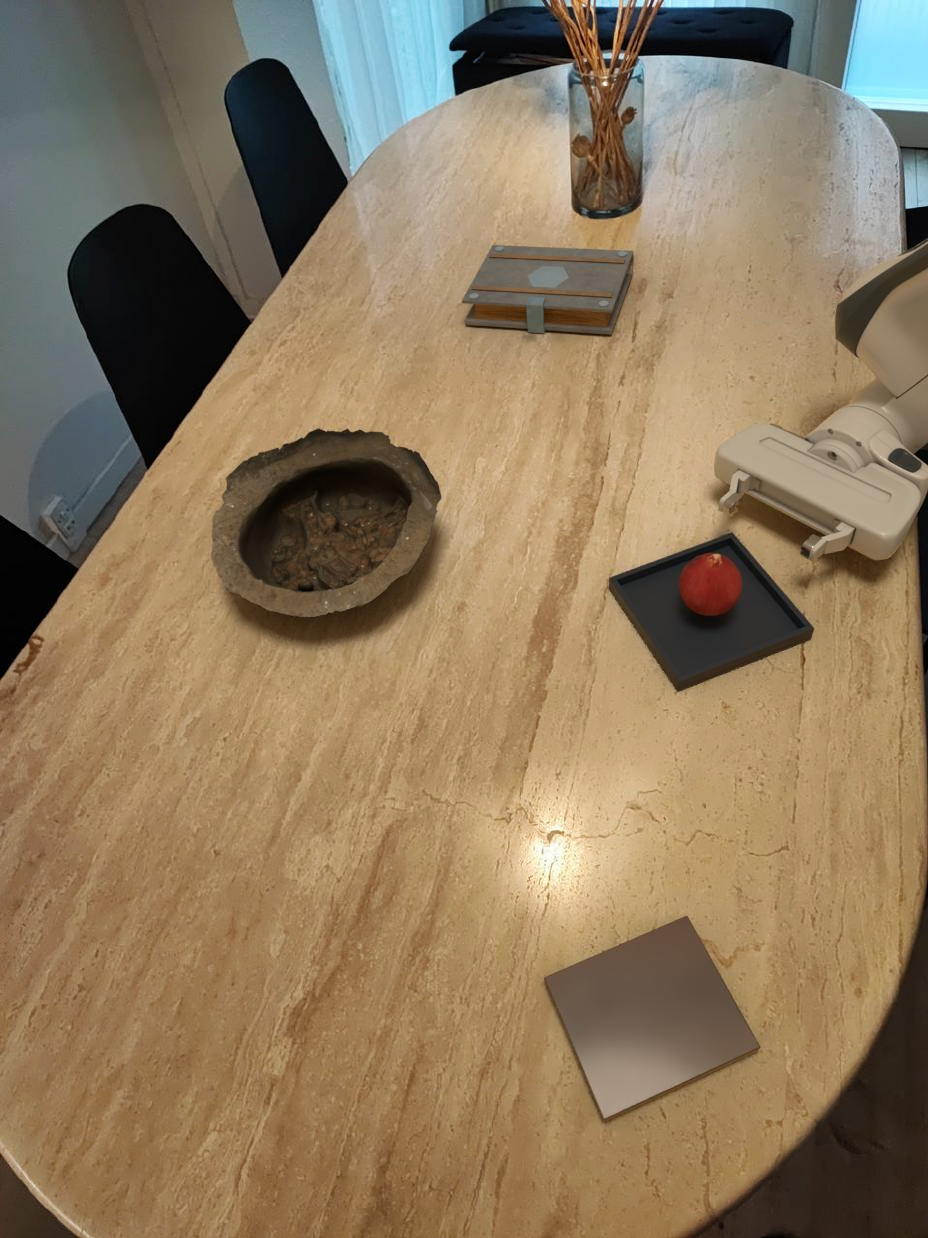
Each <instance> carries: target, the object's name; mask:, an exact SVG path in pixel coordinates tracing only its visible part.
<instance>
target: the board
mask: <svg viewBox="0 0 928 1238" xmlns="http://www.w3.org/2000/svg"><path fill="white" fill-rule="evenodd" d="M700 937H701V936H700V935H699V934H698V932H697V930H696V928H695V926H694V924H693V923H692V921H691V919H690V918H689V916H688V915H685V916H683V917H680V918H677V919H676V920H673V921H671V922H669V923H666V924H664V925H661V926H659V927H657V928H655V929H653V930H651V931H650V930H649V931H648V932H646V933H643V934H641V935H638V936H637V937H634V938H631V939H629V940H627V941H625V942H623V943H620V944H618V945H615V946H613V947H610V948H609V949H607V950H604V951H602V952H600V953H597V954H595V955H592V956H591V957H588V958H586V959H583V960H581V961H579V962H577V963H574V964H572V965H569V966H568V967H565V968H563V969H560V970H558V971H556V972H554V973H551V974H549V975H547V976H544V977H543V981H544V985H545V987H546V989H547V992H548V994H549V996H550V997H549V998H550V999H551V1002H552V1004H553V1006H554V1009H555V1011H556V1014H557V1017H558V1018H559V1021H560V1023H561V1025H562V1029H563V1030H564V1032H565V1035H566V1037H567V1040H568V1042H569V1045H570V1047H571V1049H572V1052H573V1054H574V1056H575V1059H576V1061H577V1063H578V1065H579V1066H578V1067H579V1068H580V1071H581V1073H582V1076H583V1078H584V1080H585V1083H586V1085H587V1087H588V1089H589V1092H590V1094H591V1097H592V1099H593V1101H594V1103H595V1106H596V1110H597V1111H598V1113H599V1116H600V1118H601V1120H602V1122H603V1124H605V1123H607V1122H609V1121H611V1120H614V1119H616V1118H618V1117H620V1116H623V1115H625V1114H627V1113H629V1112H631V1111H633V1110H635V1109H638V1108H640V1107H641V1106H644V1105H646V1104H649V1103H650V1102H652V1101H654V1100H657V1099H659V1098H661V1097H663V1096H665V1095H667V1094H671V1092H674V1091H677V1090H678V1089H680V1088H683V1087H685V1086H687V1085H690V1084H691V1083H693V1082H695V1081H697V1080H700V1079H702V1078H704V1077H706V1076H709V1075H711V1074H713V1073H715V1072H717V1071H719V1070H722V1069H724V1068H726V1067H728V1066H730V1065H732V1064H734V1063H736V1062H739V1061H741V1060H743V1059H745V1058H747V1057H750V1056H752V1055H754V1054H756V1053H758V1052H759V1051H760V1049H761V1044H760V1043H759V1042H758V1040H757V1038H756V1036H755V1034H754V1033H753V1030H752V1029H751V1027H750V1025H749V1024H748V1022H747V1019H746V1018H745V1017H744V1015H743V1013H742V1011H741V1009H740V1007H739V1006H738V1003H737V1002H736V1001H735V999H734V996H733V994H732V993H731V991H730V989H729V987H728V986H727V984H726V983H725V981H724V979H723V977H722V975H721V973H720V972H719V969H718V967H717V966H716V964H715V961H713V959H712V957H711V956H710V953H709V952H708V950H707V948H706V946H705V944H704V943H703V941H702V939H701V938H700Z"/></svg>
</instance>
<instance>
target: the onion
mask: <svg viewBox="0 0 928 1238" xmlns="http://www.w3.org/2000/svg"><path fill="white" fill-rule="evenodd" d="M678 584H679V589H680V594H681V598H682V599H683V601H684V602H685V604H686V605H687V606H688V607H689V608H690V609H691V610H693V611H694V612H696V613H698V614H701V615H705V616H717V615H720V614H723V613H725V612H727V611H728V610H729V609H730V608H731V607H733V606H734V605H735V604H736V603H737V601H738V598H739V596H740V594H741V592H742V578H741V574H740V571H739V570H738V568H737V567H736V565H735V564H734V563H733V562H732V561H731V560H730V559H728V558H727V557H725V556H723V555H720V554H717V553H706V554H703V555H699V556H697V557H695V558H694V559H693V560H692V561H690V562H689V563H688V564H687V565H686V566H685V567H684V569H683V571H682V574H681V576H680V579H679V583H678Z"/></svg>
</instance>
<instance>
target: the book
mask: <svg viewBox="0 0 928 1238" xmlns="http://www.w3.org/2000/svg"><path fill="white" fill-rule="evenodd" d="M634 253H635V252H634V250H625V249H624V250H622V249H602V248H601V249H600V248H599V249H598V248H575V247H574V248H573V247H553V246H552V247H551V246H550V247H547V246H529V245H528V246H527V245H526V246H525V245H501V244H492V245H491V247H490V249H489V251H488V252H487V254H486V256H485V258H484V260H483V262H482V263H481V264H480V267H479V269H478V270H477V273H476V274H475V276H474V277H473V279H472V281H471V283H470V285H469V287H468V289H467V291H466V292H465V294H464V296H463V298H462V300H461V303H462V304H467V305H472V306H471V308H470V310H469V312H468V314H466V317H465V319H464V325H467V326H478V327H479V326H480V327H494V328H495V327H496V328H507V329H508V328H510V329H524V330H525V329H526V330H527V333H529V334H531V333H532V334H542V335H543V334H545V333H546V331H553V332H567V333H570V332H571V333H582V334H597V335H609V336H610V335H612V334H613V331H614V329H615V327H616V323H617V321H618V318H619V314H620V312H621V309H622V306H623V303H624V301H625V297H626V294H627V291H628V289H629V286H630V283H631V280H632V277H633V273H634V264H635V254H634Z"/></svg>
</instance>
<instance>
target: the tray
mask: <svg viewBox="0 0 928 1238" xmlns="http://www.w3.org/2000/svg"><path fill="white" fill-rule="evenodd" d="M706 553H717V554H720V555H723V556H725V557H727V558H728V559H730V560H731V561H732V562H733V563H734V564H735V565H736V567H737V568H738V570H739V571H740V574H741V578H742V592H741V594H740V596H739V598H738V601H737V603H736V604H735V605H734V606H733V607H731V608H730V609H729V610H728V611H727V612H725V613H723V614H720V615H717V616H705V615H701V614H698V613H696V612H694V611H693V610H691V609H690V608H689V607H688V606H687V605H686V604H685V602H684V601H683V599H682V598H681V594H680V589H679V584H678V583H679V579H680V576H681V574H682V571H683V569H684V567H685V566H686V565H687V564H688V563H689V562H690V561H692V560H693V559H694V558H695V557H697V556H699V555H703V554H706ZM608 590H609V591H610V593H611V594H612V596H613V597H614V598H615V600H616V602H617V603H618V604H619V606H620V608H621V609H622V610H623V612H624V614H625V615H626V617H627V618H628V619H629V621H630V622H631V625H633V627H634V628H635V630H636V631H637V633H638V634H639V636H640V638H641V639H642V640H643V642H644V644H645V645H646V647H647V649H649V651H650V652H651V654H652V655H653V657H654V658H655V660H656V661H657V663H658V665H659V666H660V668H661V669H662V671H663V672H664V673H665V675H666V677H667V678H668V679H669V681H670V682H671V684H672V686H673V687H674V688H675V690H676V692H681V691H683V690H686V689H688V688H691V687H693V686H696V685H698V684H701V683H703V682H706V681H709V680H711V679H713V678H716V677H719V676H721V675H724V674H726V673H729V672H731V671H734V670H736V669H739V668H741V667H744V666H746V665H749V664H752V663H754V662H757V661H760V660H762V659H765V658H767V657H769V656H772V655H775V654H777V653H780V652H782V651H784V650H787V649H789V648H792V647H795V646H797V645H800V644H802V643H805V642H807V641H810V640H812V637H813V636H814V635H813V634H814V632H815V627H814V625H812V623H810V621H809V620H808V619H807V617H805V615H804V614H803V613H802V611H800V609H799V608H798V607H797V606H796V605H795V604H794V602H793V601H792V600H791V599H790V598H789V597H788V595H787V594H786V593H785V592H784V591H783V590H782V588H781V587H780V586H779V585H778V584H777V582H776V581H775V580H774V579H773V578H772V577H771V576H770V574H769V573H768V572H767V571H766V570H765V568H763V566H762V565H761V563H760V562H758V561H757V559H756V558H755V557H754V556H753V554H752V553H751V552H750V551H749V550H748V549H747V547H746V546H745V545H744V544H743V543H742V542H741V540H740V539H739V538H738V537H737V536H736V535H735V534H734V532H733V531H732V532H729V533H726V534H724V535H721V536H719V537H716V538H713V539H710V540H707V541H704V542H701V543H699V544H697V545H694V546H691V547H688V548H686V549H682V550H680V551H678V552H674V553H672V554H669V555H667V556H664V557H661V558H659V559H656V560H653V561H651V562H647V563H644V564H642V565H640V566H637V567H634V568H632V569H629V570H627V571H623V572H621V573H618V574H615V575H612V576H610V577H608Z"/></svg>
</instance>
